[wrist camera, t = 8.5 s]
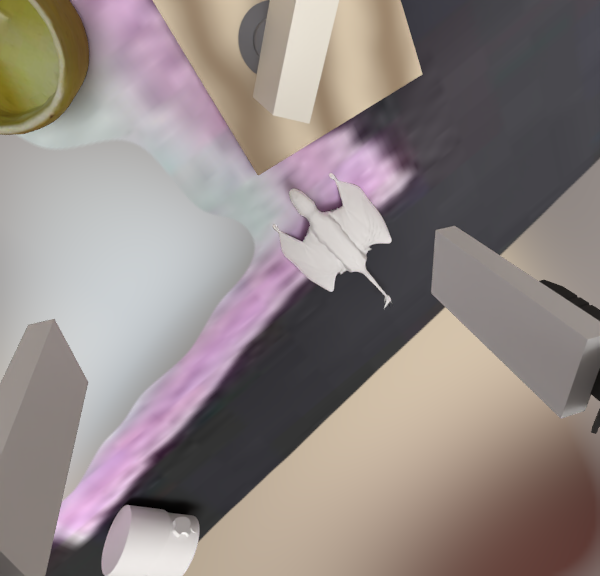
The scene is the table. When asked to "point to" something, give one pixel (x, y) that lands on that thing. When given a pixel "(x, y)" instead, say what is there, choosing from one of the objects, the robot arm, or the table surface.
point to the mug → (39, 62)
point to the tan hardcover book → (334, 79)
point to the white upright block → (287, 52)
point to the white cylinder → (149, 543)
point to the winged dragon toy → (335, 236)
